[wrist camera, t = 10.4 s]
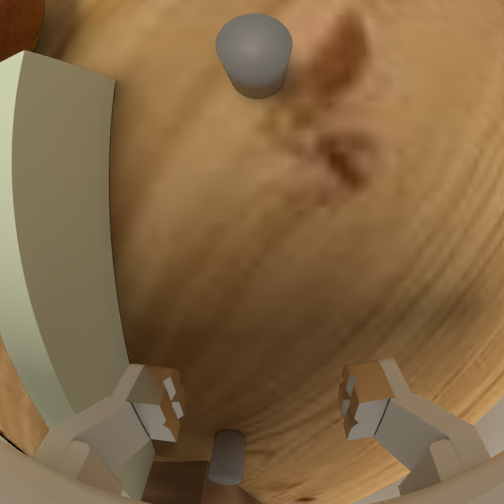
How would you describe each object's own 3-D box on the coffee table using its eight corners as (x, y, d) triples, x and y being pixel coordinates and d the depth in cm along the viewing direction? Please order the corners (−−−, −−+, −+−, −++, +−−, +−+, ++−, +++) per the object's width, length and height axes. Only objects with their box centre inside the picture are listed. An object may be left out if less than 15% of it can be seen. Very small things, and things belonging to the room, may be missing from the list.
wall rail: (241, 466, 16) (236, 526, 11) (124, 444, 16) (103, 496, 11) (286, 53, 8) (303, -25, 3) (69, 69, 8) (-18, 49, 3)
